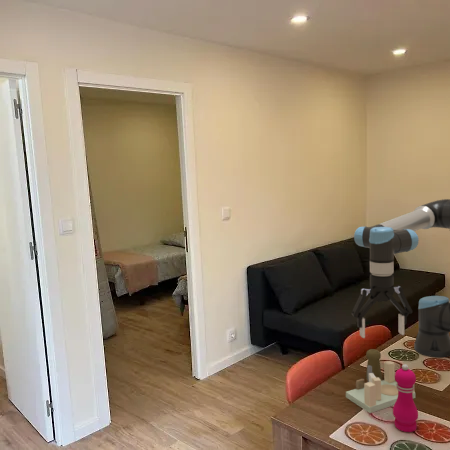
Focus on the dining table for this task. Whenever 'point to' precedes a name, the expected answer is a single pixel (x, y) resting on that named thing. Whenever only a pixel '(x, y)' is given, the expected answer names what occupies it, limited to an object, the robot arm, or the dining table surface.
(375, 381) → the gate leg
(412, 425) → the pepper mill
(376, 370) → the pepper shaker
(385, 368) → the stand
